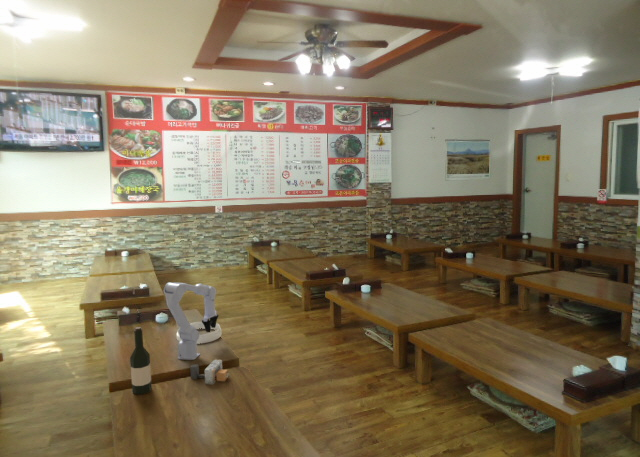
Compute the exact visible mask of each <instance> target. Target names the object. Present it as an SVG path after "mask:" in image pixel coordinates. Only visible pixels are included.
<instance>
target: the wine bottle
mask: <svg viewBox="0 0 640 457" xmlns="http://www.w3.org/2000/svg"><path fill="white" fill-rule="evenodd" d="M133 332H134V333H133V334H134V350H133V351H132V353H131V355H130V357H129V362H130V363H129V364H130V374H131V376H130V377H131V392H133V393H132V394H134V395H135V394H136V396H137V395H141V396H142V395H144V394H147V393H150V392H151V391H152V387H153V386H152V370H151V356H150V353H149V352H148V351H147V349H146V348H145V347H144V338H143V335H144V334H143V328H142V327H141V326H137V327H134V330H133Z"/></svg>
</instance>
